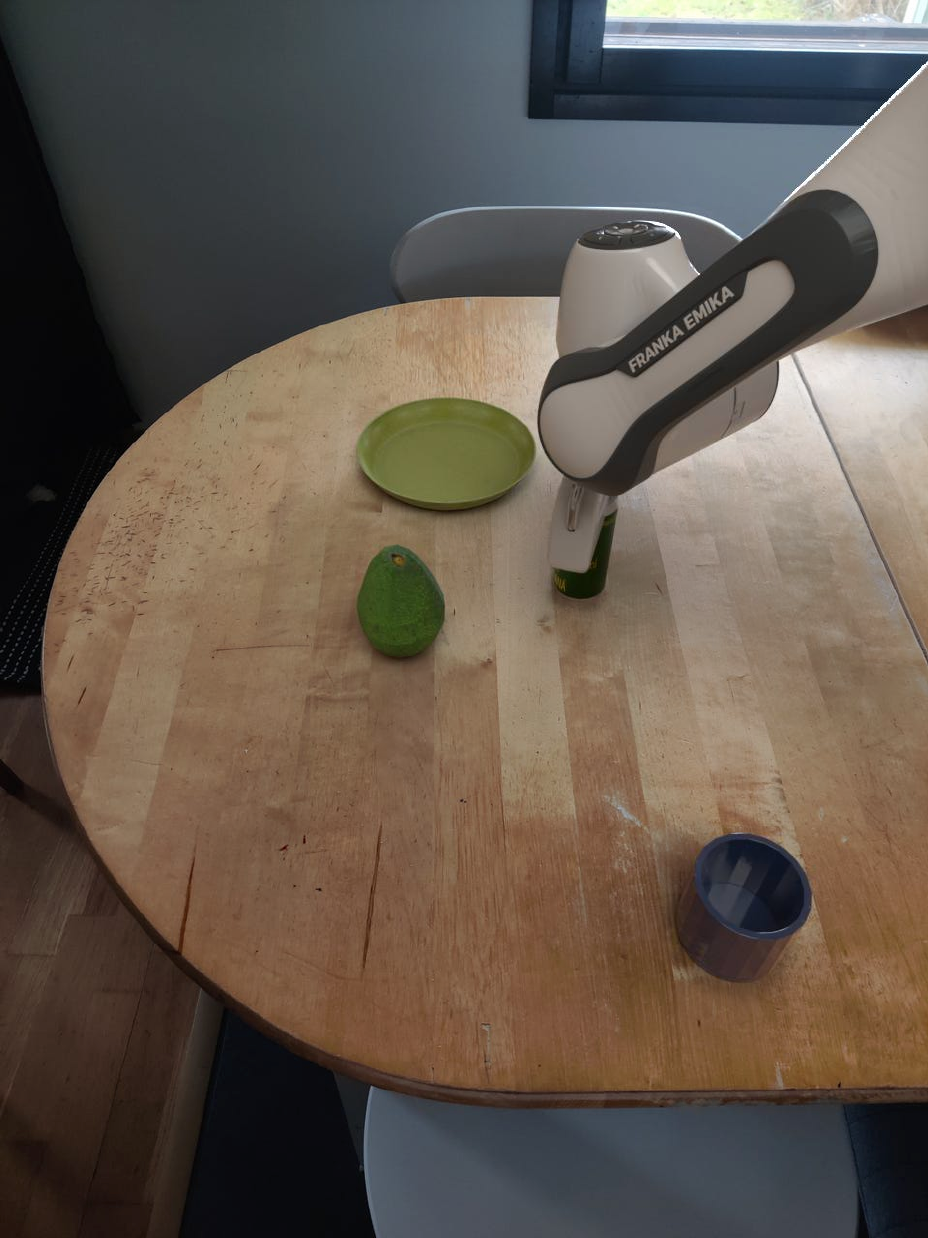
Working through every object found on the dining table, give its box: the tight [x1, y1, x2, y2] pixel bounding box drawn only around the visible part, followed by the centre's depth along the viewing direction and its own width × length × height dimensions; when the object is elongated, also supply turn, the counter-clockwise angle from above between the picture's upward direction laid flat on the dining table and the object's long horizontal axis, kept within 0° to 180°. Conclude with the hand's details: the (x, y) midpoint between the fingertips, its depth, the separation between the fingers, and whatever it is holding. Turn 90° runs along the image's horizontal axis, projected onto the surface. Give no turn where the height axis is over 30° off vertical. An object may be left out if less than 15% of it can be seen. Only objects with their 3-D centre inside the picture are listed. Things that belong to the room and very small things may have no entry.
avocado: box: [356, 544, 446, 659], centre depth 77 cm, size 8×8×12 cm
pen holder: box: [675, 832, 813, 983], centre depth 59 cm, size 8×8×7 cm
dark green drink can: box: [551, 496, 620, 603], centre depth 82 cm, size 5×5×12 cm
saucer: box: [355, 396, 537, 511], centre depth 100 cm, size 21×21×3 cm
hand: (584, 543), depth 83 cm, fingers closed on dark green drink can, 5 cm apart
